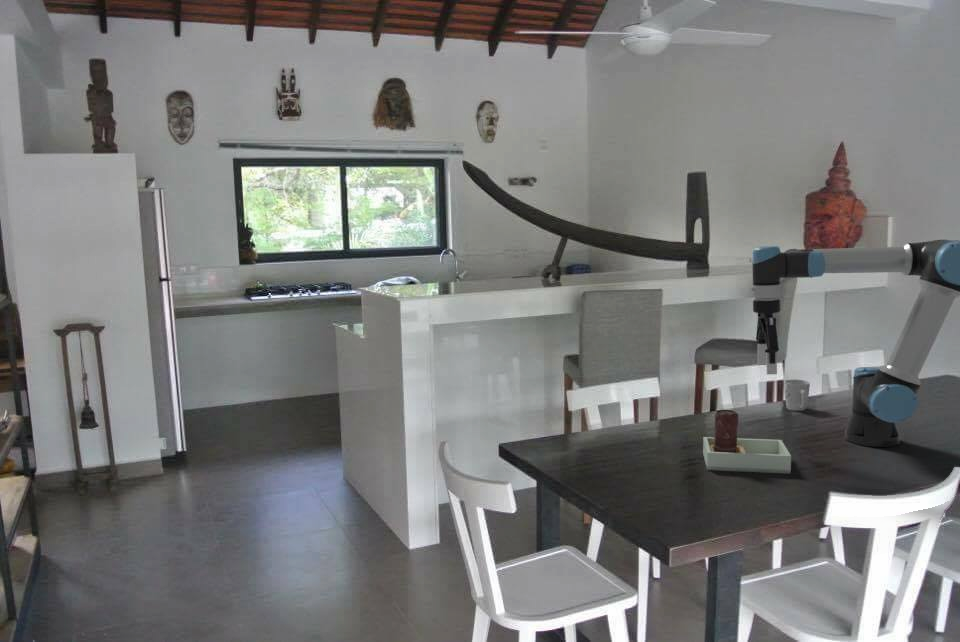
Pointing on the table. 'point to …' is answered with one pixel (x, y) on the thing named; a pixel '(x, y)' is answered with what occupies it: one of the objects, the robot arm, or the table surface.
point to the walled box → (749, 456)
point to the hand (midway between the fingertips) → (767, 369)
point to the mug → (796, 394)
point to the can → (726, 431)
